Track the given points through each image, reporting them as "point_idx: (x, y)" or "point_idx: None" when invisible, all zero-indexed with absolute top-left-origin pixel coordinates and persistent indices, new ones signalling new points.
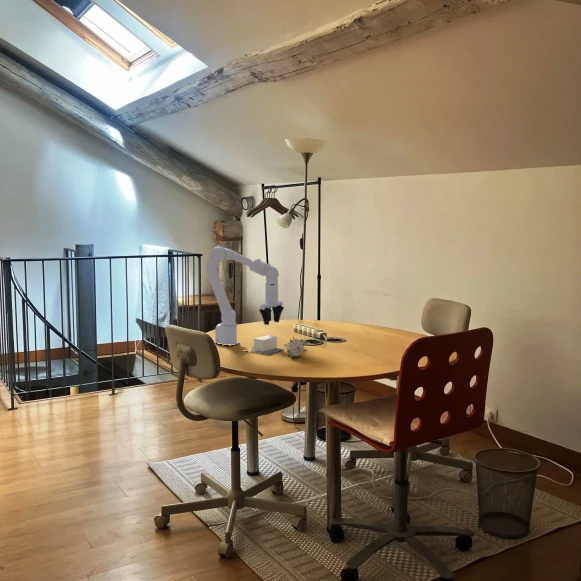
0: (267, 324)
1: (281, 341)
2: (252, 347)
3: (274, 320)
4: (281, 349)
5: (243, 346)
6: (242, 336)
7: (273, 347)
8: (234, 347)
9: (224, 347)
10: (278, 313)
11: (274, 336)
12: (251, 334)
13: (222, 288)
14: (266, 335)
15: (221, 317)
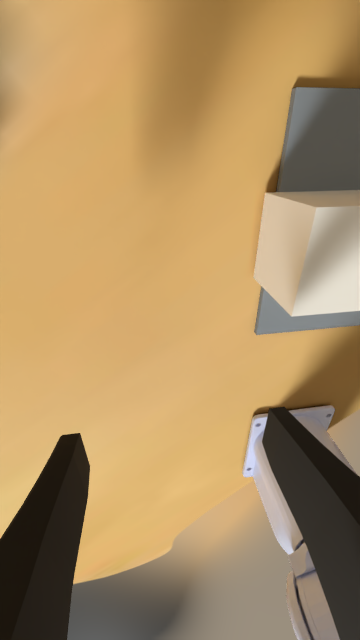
0: (288, 414)
1: (45, 319)
2: (327, 320)
3: (87, 484)
4: (315, 108)
5: (296, 375)
6: (115, 495)
7: (316, 192)
8: (333, 386)
9: (347, 409)
10: (39, 590)
11: (333, 226)
12: None
13: None
14: (317, 311)
15: None
